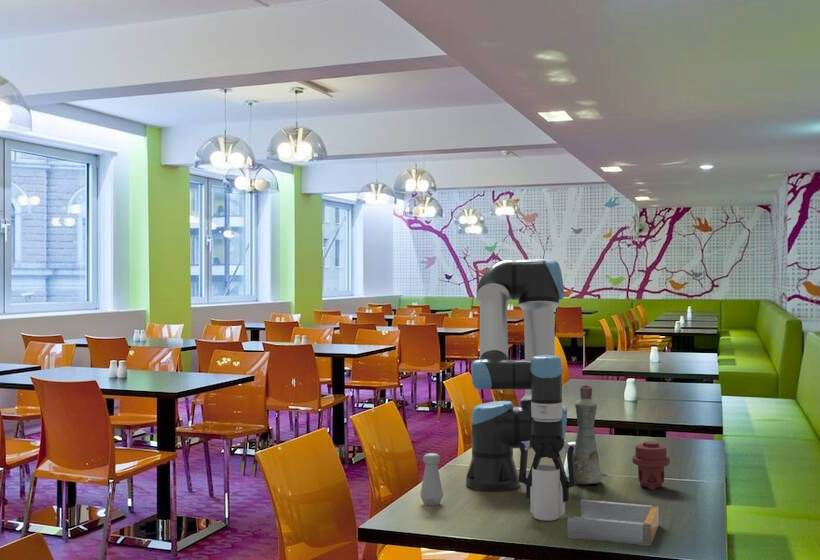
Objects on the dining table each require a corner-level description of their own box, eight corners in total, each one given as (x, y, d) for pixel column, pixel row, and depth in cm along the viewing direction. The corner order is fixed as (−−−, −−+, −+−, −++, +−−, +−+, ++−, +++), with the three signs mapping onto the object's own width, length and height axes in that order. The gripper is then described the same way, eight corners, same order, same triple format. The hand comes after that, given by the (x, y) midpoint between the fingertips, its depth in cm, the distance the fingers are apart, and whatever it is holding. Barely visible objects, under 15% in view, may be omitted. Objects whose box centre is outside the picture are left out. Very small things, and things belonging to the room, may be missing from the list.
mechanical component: (668, 483, 244) (671, 491, 234) (631, 482, 246) (633, 490, 236) (667, 439, 244) (671, 446, 234) (631, 438, 246) (633, 445, 236)
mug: (559, 521, 205) (559, 471, 205) (531, 520, 207) (530, 470, 207) (561, 510, 215) (560, 462, 215) (534, 508, 217) (533, 461, 217)
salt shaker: (427, 507, 220) (426, 457, 220) (416, 502, 225) (416, 453, 225) (447, 505, 223) (446, 454, 223) (436, 500, 228) (435, 450, 228)
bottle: (582, 487, 240) (581, 387, 240) (563, 480, 248) (562, 383, 248) (608, 484, 244) (606, 385, 244) (589, 477, 252) (588, 382, 252)
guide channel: (567, 537, 194) (567, 517, 194) (582, 518, 209) (581, 499, 209) (650, 546, 187) (650, 525, 187) (658, 525, 203) (658, 506, 203)
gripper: (504, 419, 211) (505, 513, 211) (583, 424, 204) (584, 521, 204) (512, 414, 218) (513, 505, 218) (589, 418, 211) (590, 512, 211)
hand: (547, 513), depth 211 cm, fingers closed on mug, 6 cm apart
